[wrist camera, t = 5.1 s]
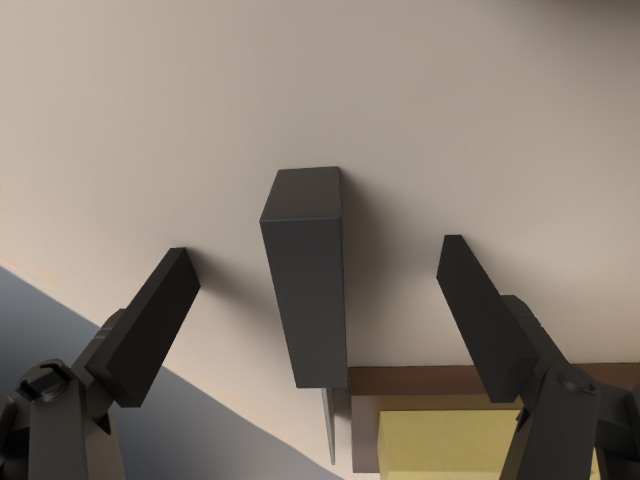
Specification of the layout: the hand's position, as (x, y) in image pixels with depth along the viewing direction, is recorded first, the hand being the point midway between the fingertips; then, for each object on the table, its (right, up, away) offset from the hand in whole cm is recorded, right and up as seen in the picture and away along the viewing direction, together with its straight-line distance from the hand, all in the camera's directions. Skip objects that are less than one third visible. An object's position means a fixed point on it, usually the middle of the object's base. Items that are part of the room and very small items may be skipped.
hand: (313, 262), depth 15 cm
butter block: (+10, -13, +6) cm, 17 cm away
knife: (+1, -5, +4) cm, 6 cm away
